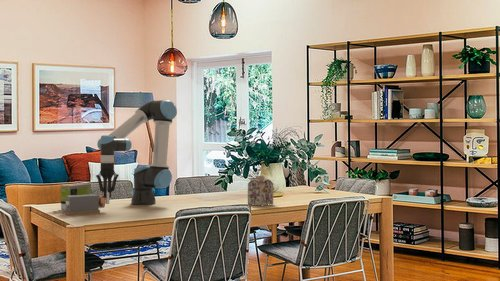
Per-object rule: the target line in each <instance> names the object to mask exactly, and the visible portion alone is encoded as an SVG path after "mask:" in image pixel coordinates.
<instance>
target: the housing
mask: <svg viewBox="0 0 500 281" xmlns="http://www.w3.org/2000/svg"><path fill="white" fill-rule="evenodd" d="M99 196H100V195H97V194H94V193H91V194H88V195H70V196H66V201H69V206H66V210H63V214H65V215H67V216H69V217H71V216H72V217H73V216H86V215H87V216H88V215H99V214H100V212H101V210H100V208H99Z"/></svg>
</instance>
